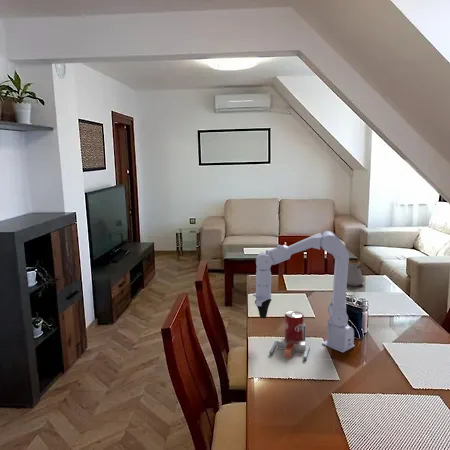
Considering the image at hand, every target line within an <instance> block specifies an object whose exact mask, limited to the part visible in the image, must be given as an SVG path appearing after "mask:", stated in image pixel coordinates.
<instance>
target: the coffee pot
mask: <svg viewBox="0 0 450 450" xmlns="http://www.w3.org/2000/svg"><path fill="white" fill-rule="evenodd" d="M361 267H362V268H361ZM362 269H364V266H362V265H361V261H358V260H349V264H348V276H347V286H351V287H359V286H361V285H362V284H363V283H364V282H365V277H364V276H363V274H362V271H361V270H362Z"/></svg>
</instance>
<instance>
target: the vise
mask: <svg viewBox="0 0 450 450" xmlns="http://www.w3.org/2000/svg"><path fill="white" fill-rule="evenodd" d="M306 326H307V324H306V323H304V332H303V341H306V338H307V337H306V334H307V333H306V332H307V331H306V329H307V327H306ZM276 349H278V340H275V341H274V343H273V344H272V347H271V348H270V351H269V356H271V357H273V356H274V353H275V352H276ZM310 351H311V346H310V345H307V346H306V347H305V352H304V353H303V356H302V361H303V362H307V360H308V357H309V353H310Z"/></svg>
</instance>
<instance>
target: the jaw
mask: <svg viewBox="0 0 450 450" xmlns="http://www.w3.org/2000/svg"><path fill="white" fill-rule="evenodd" d="M277 341H278V346H277V349H278V350H284V359H290V360H292V359H291V358H292V356H293V353H294V352H299V353H305V351H306V348H307V346H306V342H307V341H304V340H303V341H296V340H289V339H284V338H281V337H279V338H278V340H277Z"/></svg>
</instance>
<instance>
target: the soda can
mask: <svg viewBox="0 0 450 450" xmlns="http://www.w3.org/2000/svg"><path fill="white" fill-rule="evenodd" d="M304 324H305V315H304V314H303V312H301V311H297V310H289V311H287V312H286V313H284V333H283V334H284V336H283V339H289V340H296V341H303V342H304V340H303V332H304Z"/></svg>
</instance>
